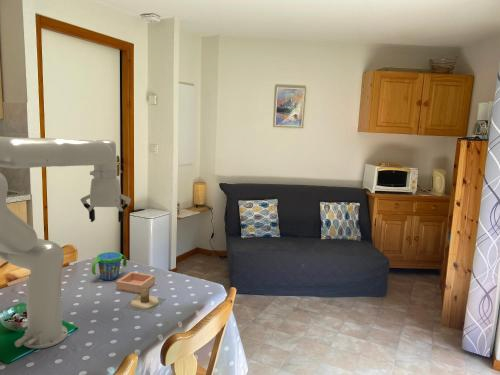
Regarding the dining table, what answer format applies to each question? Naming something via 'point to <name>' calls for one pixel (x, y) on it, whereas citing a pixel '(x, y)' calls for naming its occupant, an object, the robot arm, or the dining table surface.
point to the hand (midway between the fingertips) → (106, 221)
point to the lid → (144, 300)
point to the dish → (135, 282)
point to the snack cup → (109, 265)
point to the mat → (128, 306)
